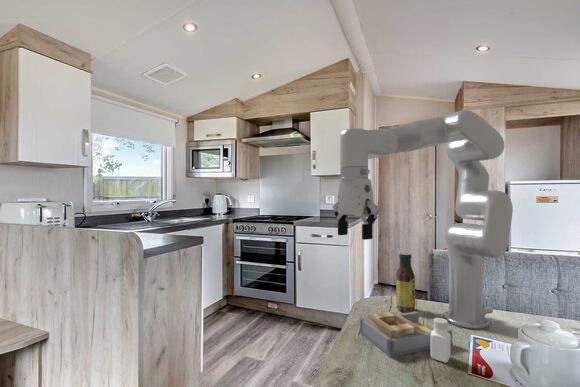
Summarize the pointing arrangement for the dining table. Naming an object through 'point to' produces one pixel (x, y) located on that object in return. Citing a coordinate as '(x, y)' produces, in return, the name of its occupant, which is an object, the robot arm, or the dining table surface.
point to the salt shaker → (440, 341)
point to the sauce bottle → (405, 284)
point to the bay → (400, 343)
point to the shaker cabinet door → (393, 324)
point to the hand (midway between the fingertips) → (354, 236)
